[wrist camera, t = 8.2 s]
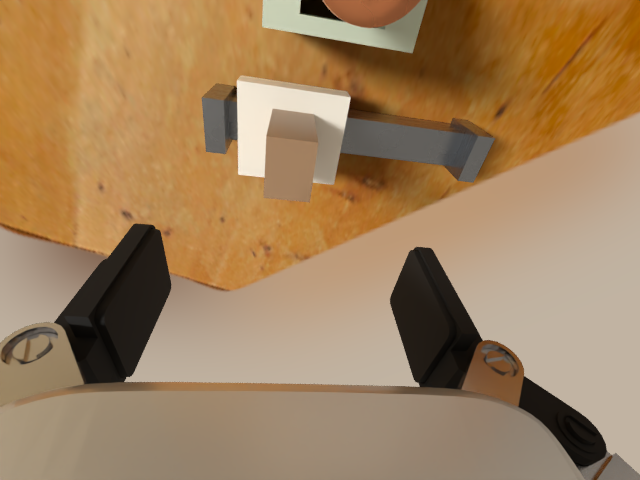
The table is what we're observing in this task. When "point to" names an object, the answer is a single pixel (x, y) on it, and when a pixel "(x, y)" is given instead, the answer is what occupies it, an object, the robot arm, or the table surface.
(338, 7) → the jar with copper lid
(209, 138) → the rail
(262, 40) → the table surface
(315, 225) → the table surface
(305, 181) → the carriage
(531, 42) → the table surface
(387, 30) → the pale green open box
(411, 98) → the table surface
